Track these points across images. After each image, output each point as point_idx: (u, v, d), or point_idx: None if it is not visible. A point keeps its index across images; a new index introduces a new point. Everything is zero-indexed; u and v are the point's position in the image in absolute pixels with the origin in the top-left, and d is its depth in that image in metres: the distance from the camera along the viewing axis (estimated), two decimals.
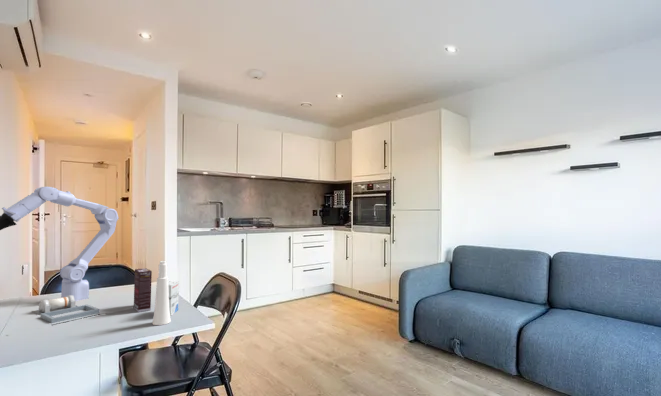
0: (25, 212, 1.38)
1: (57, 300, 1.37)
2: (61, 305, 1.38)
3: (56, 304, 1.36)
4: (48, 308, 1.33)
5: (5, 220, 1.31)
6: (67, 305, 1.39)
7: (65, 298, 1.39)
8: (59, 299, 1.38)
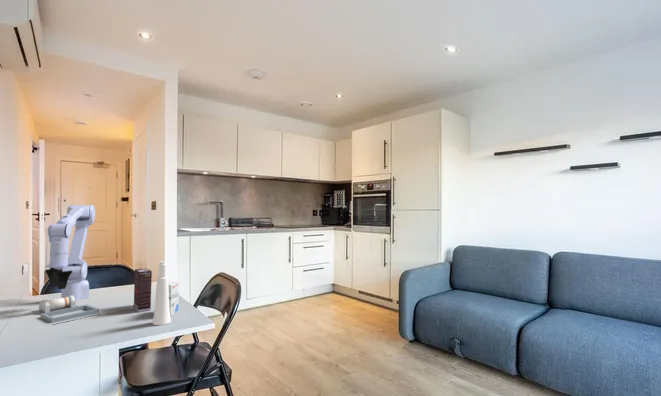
0: (65, 256, 1.39)
1: (58, 301, 1.37)
2: (61, 306, 1.37)
3: (57, 305, 1.36)
4: (48, 308, 1.33)
5: (61, 274, 1.36)
6: (67, 306, 1.39)
7: (66, 299, 1.39)
8: (60, 300, 1.37)
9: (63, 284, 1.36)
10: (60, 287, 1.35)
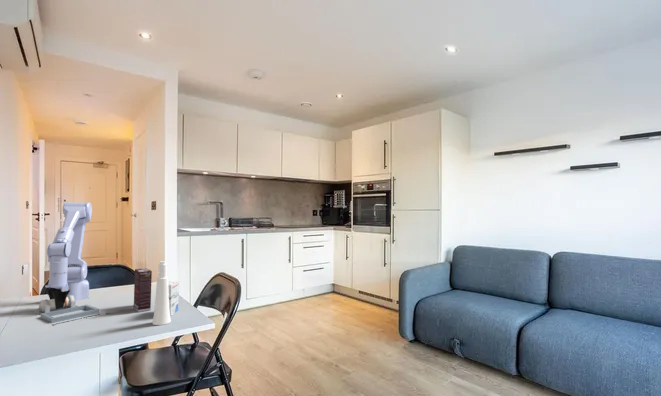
0: (65, 276, 1.38)
1: None
2: None
3: None
4: (48, 308, 1.33)
5: (59, 294, 1.36)
6: (67, 305, 1.39)
7: None
8: None
9: (61, 303, 1.37)
10: (58, 306, 1.36)
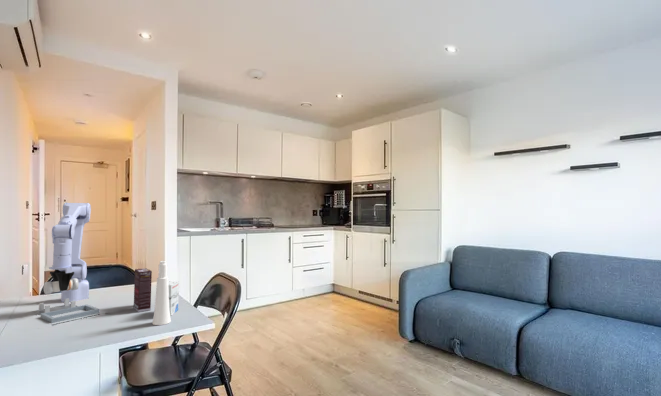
0: (69, 258, 1.36)
1: None
2: None
3: None
4: (48, 308, 1.33)
5: (63, 276, 1.34)
6: (71, 288, 1.38)
7: None
8: None
9: (65, 285, 1.35)
10: (62, 289, 1.34)
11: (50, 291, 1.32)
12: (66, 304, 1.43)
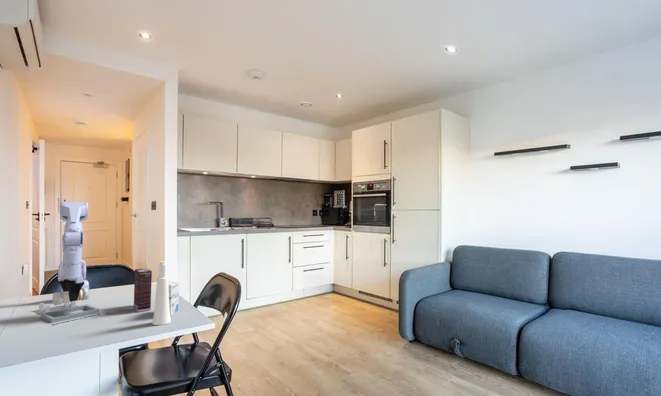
0: (79, 267, 1.31)
1: None
2: None
3: None
4: (48, 308, 1.33)
5: (73, 286, 1.29)
6: (81, 298, 1.32)
7: None
8: None
9: (75, 295, 1.30)
10: (72, 299, 1.29)
11: (60, 302, 1.26)
12: (66, 304, 1.43)
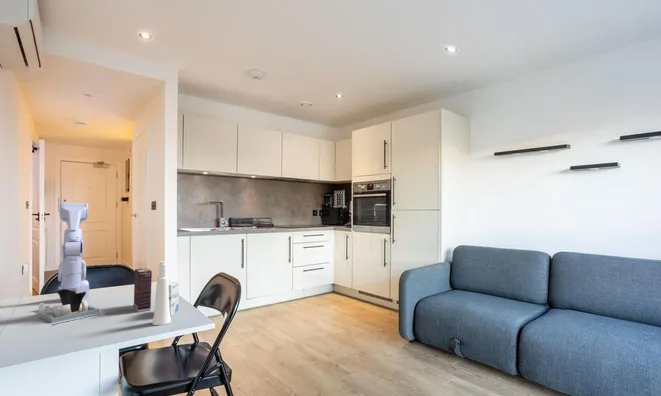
0: (79, 277, 1.31)
1: None
2: None
3: (69, 309, 1.29)
4: (48, 308, 1.33)
5: (74, 296, 1.28)
6: (80, 310, 1.32)
7: None
8: None
9: (76, 306, 1.29)
10: (73, 310, 1.28)
11: (59, 315, 1.26)
12: None
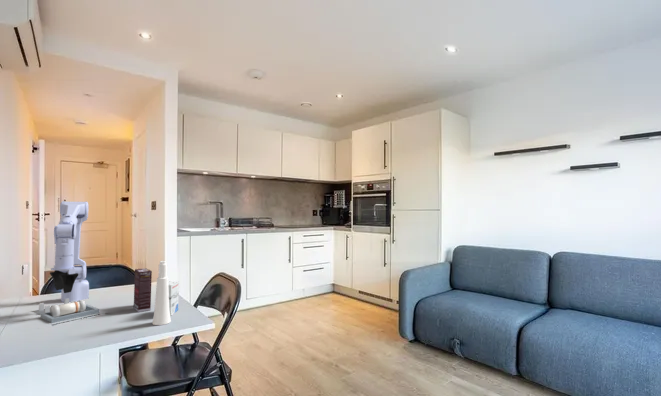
0: (71, 258, 1.33)
1: None
2: (72, 305, 1.32)
3: (66, 305, 1.31)
4: (48, 308, 1.33)
5: (67, 277, 1.30)
6: (78, 306, 1.33)
7: None
8: None
9: (69, 287, 1.31)
10: (66, 290, 1.30)
11: (57, 309, 1.28)
12: None
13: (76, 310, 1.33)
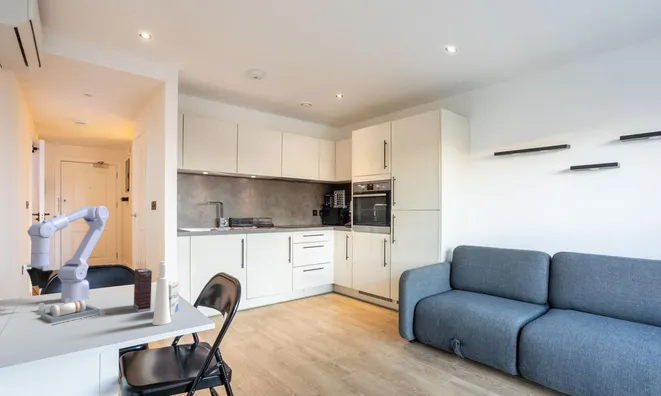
0: (46, 256, 1.39)
1: None
2: (72, 305, 1.32)
3: (66, 304, 1.31)
4: (48, 308, 1.33)
5: (42, 274, 1.36)
6: (78, 305, 1.33)
7: None
8: None
9: (44, 283, 1.37)
10: (41, 286, 1.36)
11: (57, 309, 1.28)
12: None
13: (76, 310, 1.33)
